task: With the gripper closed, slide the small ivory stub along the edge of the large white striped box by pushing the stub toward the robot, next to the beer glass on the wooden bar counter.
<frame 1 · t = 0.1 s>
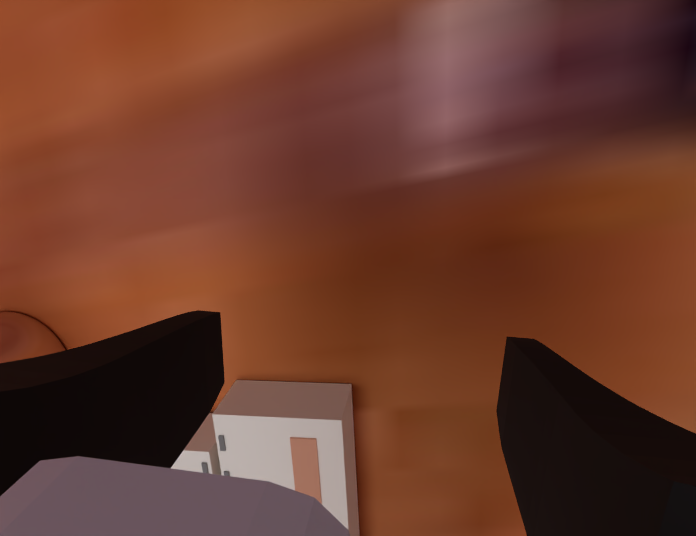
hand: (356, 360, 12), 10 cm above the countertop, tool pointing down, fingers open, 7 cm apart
beer glass: (25, 359, 27), on the countertop
white striped box: (302, 486, 26), on the countertop
stub: (180, 463, 25), point 2 cm above the countertop, slide at 0.0 cm
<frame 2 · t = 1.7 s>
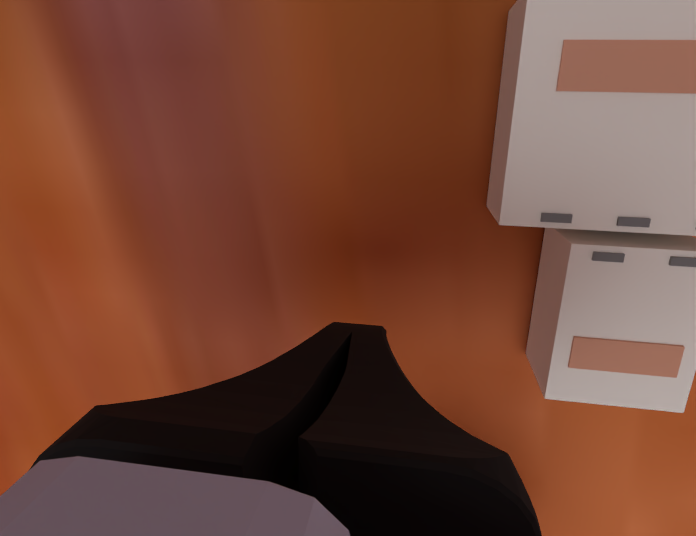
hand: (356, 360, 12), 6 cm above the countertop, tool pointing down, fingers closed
stub: (611, 312, 15), point 2 cm above the countertop, slide at 0.0 cm
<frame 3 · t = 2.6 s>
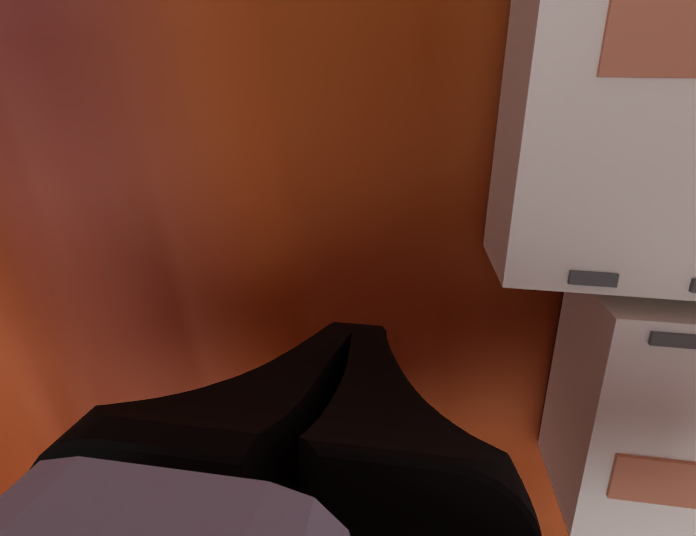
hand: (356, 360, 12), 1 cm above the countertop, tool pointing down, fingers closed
stub: (666, 405, 10), point 2 cm above the countertop, slide at 0.0 cm
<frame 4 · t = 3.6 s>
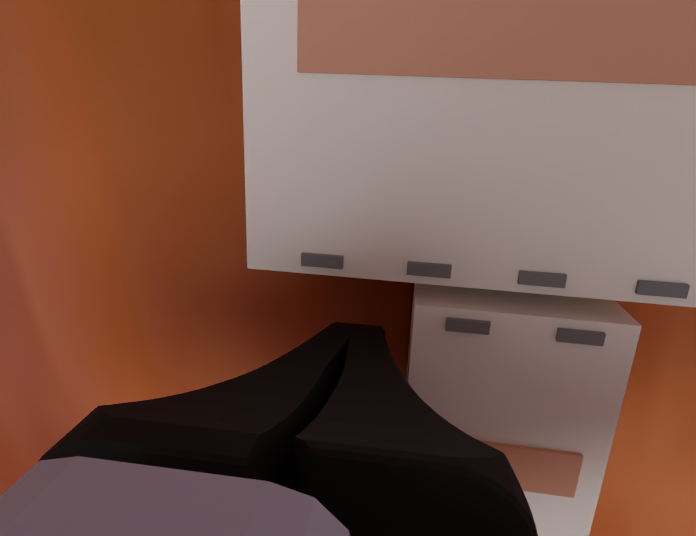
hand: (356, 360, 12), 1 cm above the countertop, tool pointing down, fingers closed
white striped box: (577, 121, 10), on the countertop
stub: (495, 391, 11), point 2 cm above the countertop, slide at 1.3 cm, touching gripper
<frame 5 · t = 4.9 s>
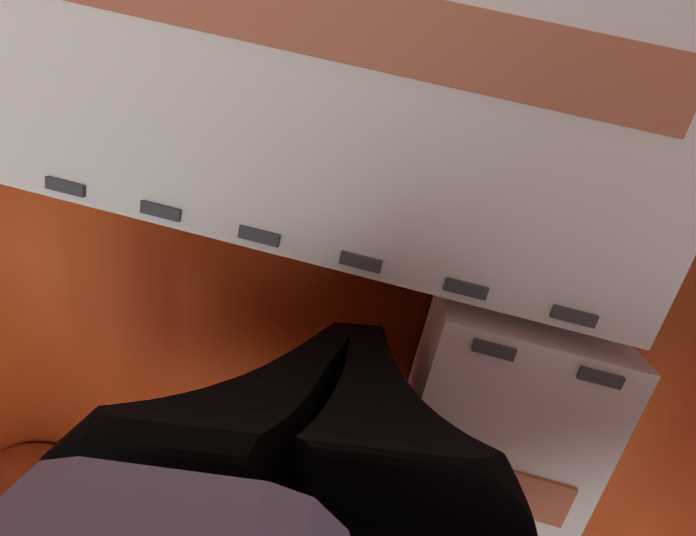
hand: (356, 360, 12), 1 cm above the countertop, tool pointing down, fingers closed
beer glass: (67, 510, 17), on the countertop
white striped box: (360, 104, 11), on the countertop
stub: (497, 413, 11), point 2 cm above the countertop, slide at 7.3 cm, touching gripper
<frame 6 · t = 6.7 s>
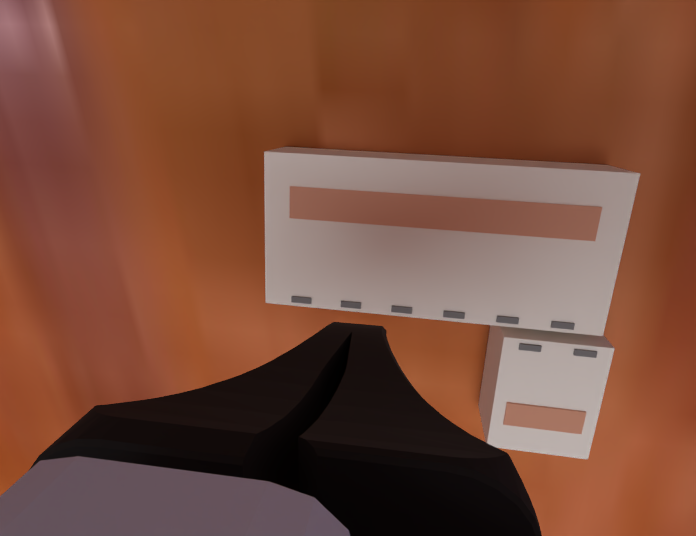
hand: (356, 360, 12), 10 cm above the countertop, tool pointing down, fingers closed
white striped box: (432, 226, 21), on the countertop
stub: (538, 380, 20), point 2 cm above the countertop, slide at 7.5 cm
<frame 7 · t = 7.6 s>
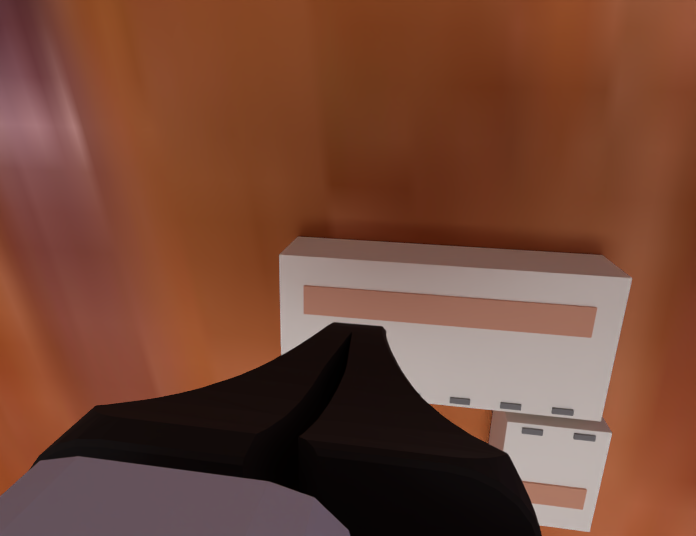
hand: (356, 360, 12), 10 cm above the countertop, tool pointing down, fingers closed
white striped box: (438, 309, 22), on the countertop
stub: (541, 454, 21), point 2 cm above the countertop, slide at 7.5 cm
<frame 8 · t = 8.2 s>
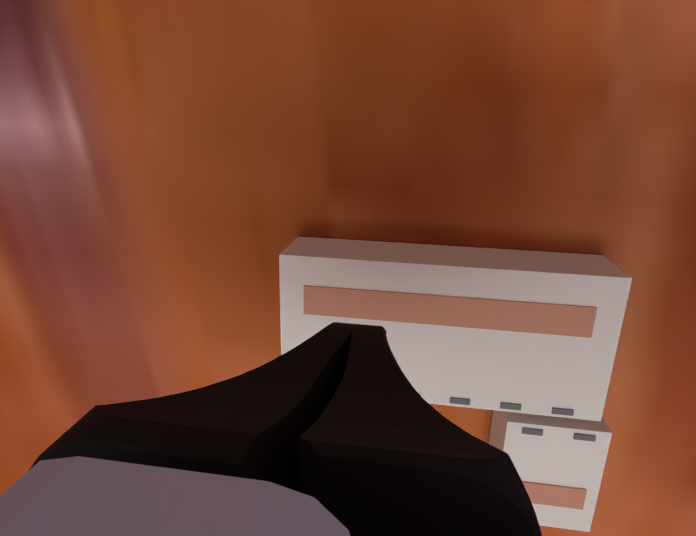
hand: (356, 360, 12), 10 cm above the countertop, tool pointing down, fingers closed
white striped box: (438, 309, 22), on the countertop
stub: (541, 454, 21), point 2 cm above the countertop, slide at 7.5 cm
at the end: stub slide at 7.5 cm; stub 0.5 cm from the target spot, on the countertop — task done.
